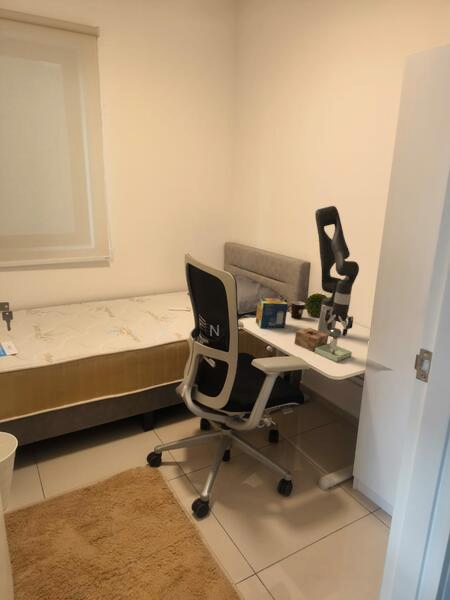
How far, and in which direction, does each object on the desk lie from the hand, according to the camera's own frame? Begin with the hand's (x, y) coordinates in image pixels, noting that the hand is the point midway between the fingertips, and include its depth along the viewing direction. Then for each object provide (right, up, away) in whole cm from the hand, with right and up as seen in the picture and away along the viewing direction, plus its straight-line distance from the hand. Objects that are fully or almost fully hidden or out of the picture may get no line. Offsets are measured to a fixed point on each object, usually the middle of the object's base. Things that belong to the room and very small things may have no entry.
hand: (336, 332), depth 193 cm
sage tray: (-1, -11, +3) cm, 12 cm away
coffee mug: (-11, +5, +58) cm, 60 cm away
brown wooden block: (-10, -8, +13) cm, 18 cm away
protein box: (-29, +1, +39) cm, 49 cm away
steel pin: (-2, -11, +2) cm, 11 cm away
